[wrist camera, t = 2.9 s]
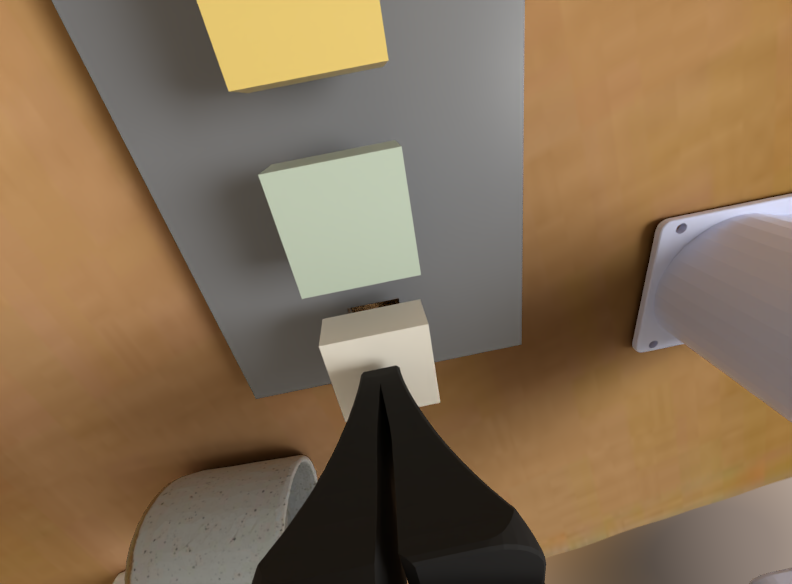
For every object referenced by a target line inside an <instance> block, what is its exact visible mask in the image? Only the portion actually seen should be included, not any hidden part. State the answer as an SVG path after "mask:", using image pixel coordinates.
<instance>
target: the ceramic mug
mask: <svg viewBox="0 0 792 584" xmlns="http://www.w3.org/2000/svg"><path fill="white" fill-rule="evenodd" d="M317 482H318V481H317V476H316V471H315V469H314V466H313V463H312V462H311V460H310V459H309V458H308V457H307V456H304V455H297V456H292V457H286V458H280V459H273V460H267V461H260V462H254V463H248V464H243V465H237V466H231V467H224V468H217V469H210V470H204V471H200V472H196V473H193V474H190V475H187V476H184V477H181V478H179V479H177V480H175V481H173V482H171V483H170V484H168V485H167V486H166V487H164V488H163V489H162V490H161V491H160V492H159V493H158V494H157V495H156V497H155V498H154V499H153V500H152V502H151V503H150V504H149V506H148V507H147V509H146V510H145V512H144V514H143V516H142V518H141V520H140V522H139V523H138V525H137V528H136V531H135V533H134V536H133V538H132V541H131V544H130V548H129V552H128V557H127V561H126V569H125V578H124V581H125V584H252V580H253V577H254V574H255V571H256V568H257V565H258V564H259V562H260V561H261V560H262V559H263V557H264V556H265V555H266V554H267V552H268V551H269V550H270V549H271V547H272V546H273V545H274V544H275V542H276V541H277V540H278V538H279V537H280V536H281V535H282V533H283V532H284V531H285V529H286V528H287V527H288V525H289V524H290V523H291V521H292V520H293V518H294V517H295V515H296V514H297V512H298V511H299V510H300V508H301V507H302V505H303V504H304V502H305V501H306V499H307V498H308V496H309V495H310V493H311V492H312V490H313V488H314V487H315V485H316V483H317Z"/></svg>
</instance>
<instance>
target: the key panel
mask: <svg viewBox="0 0 792 584" xmlns="http://www.w3.org/2000/svg"><path fill="white" fill-rule="evenodd" d="M52 2H53V4H54V6H55V8H56V10H57V12H58V14H59V16H60V18H61V20H62V22H63V24H64V26H65V28H66V29H67V31H68V33H69V35H70V37H71V39H72V41H73V43H74V45H75V47H76V49H77V51H78V53H79V55H80V57H81V59H82V61H83V63H84V65H85V67H86V68H87V70H88V72H89V74H90V76H91V78H92V80H93V82H94V84H95V86H96V88H97V90H98V92H99V94H100V96H101V98H102V100H103V102H104V104H105V105H106V107H107V109H108V111H109V113H110V115H111V117H112V119H113V121H114V123H115V125H116V127H117V129H118V131H119V133H120V135H121V137H122V139H123V141H124V143H125V144H126V146H127V148H128V150H129V152H130V154H131V156H132V158H133V160H134V162H135V164H136V166H137V168H138V170H139V172H140V174H141V176H142V178H143V180H144V181H145V183H146V185H147V187H148V189H149V191H150V193H151V195H152V197H153V199H154V201H155V203H156V205H157V207H158V209H159V211H160V213H161V215H162V217H163V219H164V220H165V222H166V224H167V226H168V228H169V230H170V232H171V234H172V236H173V238H174V240H175V242H176V244H177V246H178V248H179V250H180V252H181V254H182V256H183V257H184V259H185V261H186V263H187V265H188V267H189V269H190V271H191V273H192V275H193V277H194V279H195V281H196V283H197V285H198V287H199V289H200V291H201V293H202V295H203V296H204V298H205V300H206V302H207V304H208V306H209V308H210V310H211V312H212V314H213V316H214V318H215V320H216V322H217V324H218V326H219V328H220V330H221V332H222V333H223V335H224V337H225V339H226V341H227V343H228V345H229V347H230V349H231V351H232V353H233V355H234V357H235V359H236V361H237V363H238V365H239V367H240V369H241V371H242V372H243V374H244V376H245V378H246V380H247V382H248V384H249V386H250V388H251V390H252V392H253V394H254V396H255V398H256V399H258V398H263V397H268V396H273V395H278V394H283V393H288V392H292V391H297V390H302V389H307V388H312V387H317V386H322V385H327V384H331V380H330V377H329V374H328V371H327V369H326V366H325V363H324V360H323V357H322V354H321V352H320V349H319V341H320V334H321V327H322V320H323V319H325V318H330V317H335V316H340V315H345V314H350V313H352V309H351V308H352V307H357V306H362V305H367V304H372V303H377V302H382V301H387V300H392V299H397V298H398V299H399V303H404V302H409V301H414V300H419V299H420V300H421V303H422V306H423V309H424V312H425V315H426V318H427V321H428V324H429V331H430V337H431V344H432V351H433V357H434V362H439V361H444V360H448V359H453V358H458V357H463V356H468V355H473V354H478V353H483V352H487V351H492V350H497V349H502V348H507V347H512V346H517V345H521V344H522V239H523V129H524V20H525V0H380V6H381V13H382V20H383V26H384V33H385V39H386V46H387V53H388V59H389V61H388V62H387V63H386V64H385V65H384V66H383V67H379V68H374V69H369V70H364V71H359V72H354V73H349V74H344V75H338V76H333V77H328V78H323V79H318V80H313V81H308V82H303V83H297V84H292V85H287V86H282V87H277V88H272V89H267V90H262V91H256V92H251V93H240V92H229V91H228V88H227V85H226V83H225V80H224V77H223V74H222V71H221V68H220V66H219V63H218V60H217V57H216V54H215V51H214V49H213V46H212V43H211V40H210V37H209V34H208V32H207V29H206V26H205V23H204V20H203V17H202V15H201V12H200V9H199V6H198V3H197V0H52ZM393 140H395V141H396V142H397V143H398V144H400V145H401V146H402V152H403V159H404V165H405V172H406V179H407V185H408V192H409V198H410V205H411V212H412V218H413V225H414V232H415V238H416V245H417V251H418V258H419V265H420V271H421V275H418V276H413V277H408V278H403V279H398V280H393V281H388V282H383V283H378V284H373V285H368V286H364V287H359V288H354V289H349V290H344V291H339V292H334V293H329V294H324V295H319V296H314V297H309V298H304V299H302V298H301V295H300V292H299V289H298V286H297V284H296V281H295V278H294V275H293V272H292V269H291V267H290V264H289V261H288V258H287V255H286V252H285V250H284V247H283V244H282V241H281V238H280V235H279V233H278V230H277V227H276V224H275V221H274V218H273V216H272V213H271V210H270V207H269V204H268V201H267V199H266V196H265V193H264V190H263V187H262V184H261V182H260V179H259V176H258V175H259V174H260V173H261V172H262V171H264V170H265V169H266V168H268V167H269V166H270V165H272V164H276V163H282V162H287V161H292V160H297V159H302V158H307V157H312V156H317V155H322V154H327V153H332V152H337V151H342V150H347V149H352V148H357V147H363V146H368V145H373V144H378V143H383V142H388V141H393Z"/></svg>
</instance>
